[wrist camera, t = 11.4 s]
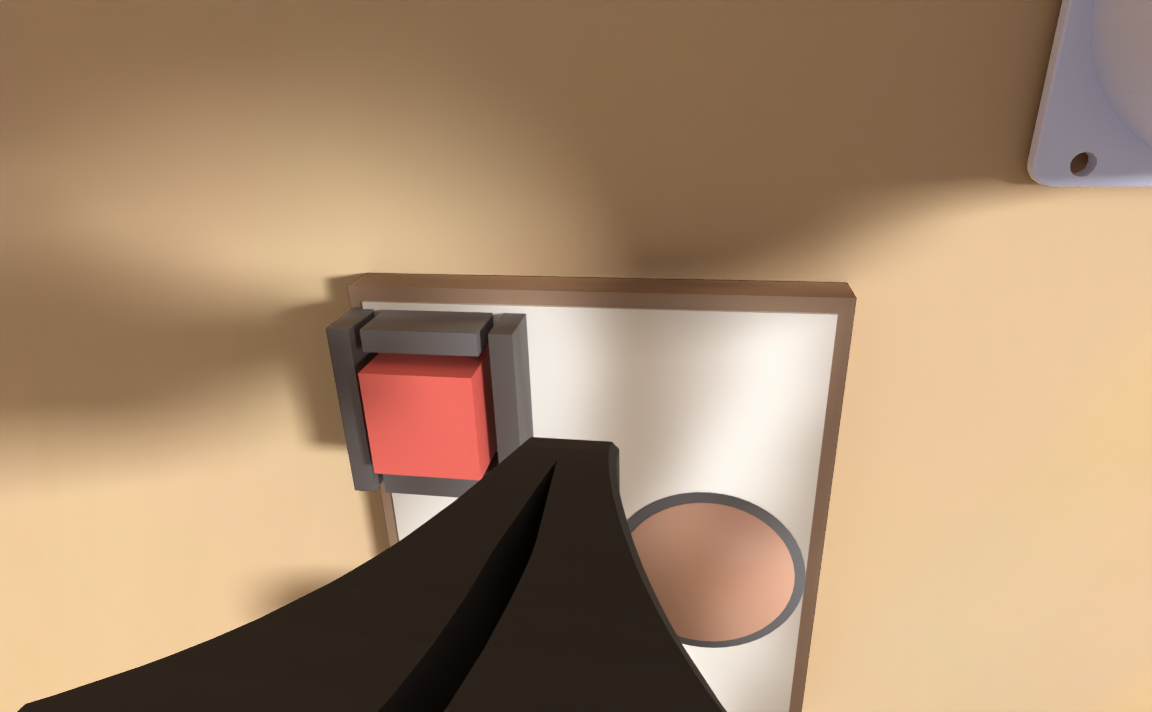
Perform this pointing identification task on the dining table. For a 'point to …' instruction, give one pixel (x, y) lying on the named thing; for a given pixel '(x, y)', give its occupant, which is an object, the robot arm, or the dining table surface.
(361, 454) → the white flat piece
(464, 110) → the dining table surface
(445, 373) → the button
